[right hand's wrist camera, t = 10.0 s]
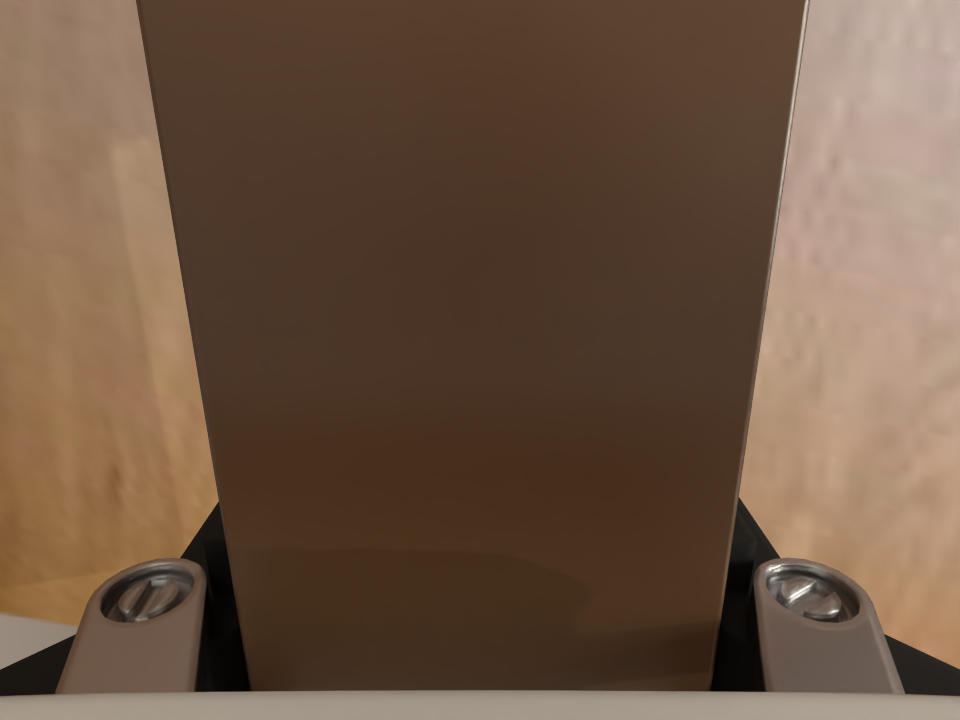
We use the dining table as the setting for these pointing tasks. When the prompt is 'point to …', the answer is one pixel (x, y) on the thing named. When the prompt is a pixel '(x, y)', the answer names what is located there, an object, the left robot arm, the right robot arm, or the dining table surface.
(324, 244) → the bar
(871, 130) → the dining table surface
